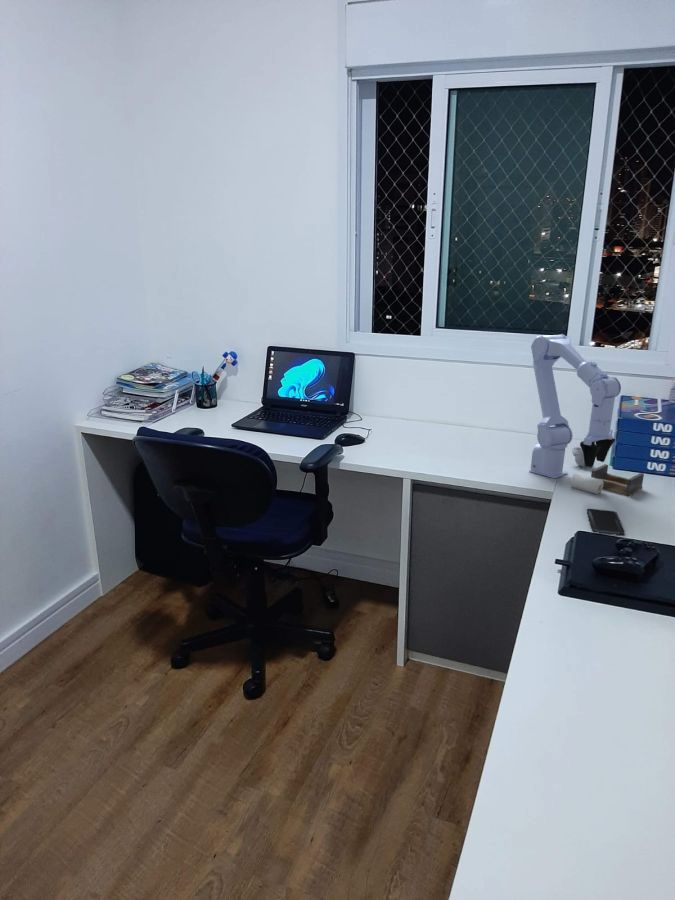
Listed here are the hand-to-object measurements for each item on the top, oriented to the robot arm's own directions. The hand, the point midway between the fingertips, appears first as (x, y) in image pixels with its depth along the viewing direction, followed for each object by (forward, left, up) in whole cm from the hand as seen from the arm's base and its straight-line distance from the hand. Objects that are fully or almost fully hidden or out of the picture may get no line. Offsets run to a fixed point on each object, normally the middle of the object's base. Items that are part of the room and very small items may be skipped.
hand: (594, 463), depth 197 cm
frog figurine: (-13, +20, -9) cm, 26 cm away
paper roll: (-1, -1, -6) cm, 7 cm away
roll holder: (+4, +8, -9) cm, 13 cm away
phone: (+14, -21, -9) cm, 26 cm away
